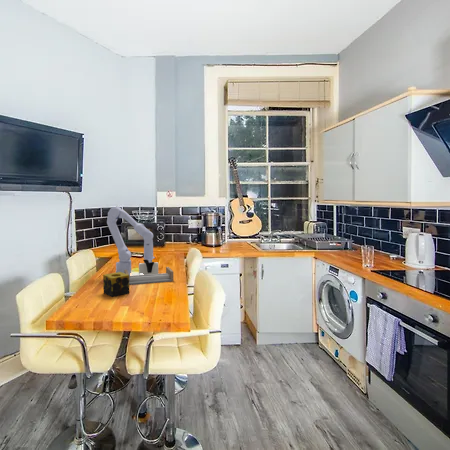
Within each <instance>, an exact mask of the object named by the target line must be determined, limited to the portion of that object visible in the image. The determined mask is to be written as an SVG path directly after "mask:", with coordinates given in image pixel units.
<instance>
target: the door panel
mask: <svg viewBox="0 0 450 450" xmlns="http://www.w3.org/2000/svg"><path fill="white" fill-rule="evenodd" d="M153 262H154V265H153V267H152V272H151V273H148V271H147V266H146V263H144V262H142V263H141V262H139V263H138V274H139V273H143V274H144V275H149V274H159V262H157V261H156V262H155V261H153Z"/></svg>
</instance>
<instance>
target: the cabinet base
mask: <svg viewBox="0 0 450 450" xmlns="http://www.w3.org/2000/svg"><path fill="white" fill-rule="evenodd" d="M124 273H125V274H127V275H129V273H128V271H127V270H124ZM168 282H170V283H171V282H174V270H172V269H171V267H170V266H166V268H165V272H162V273H158V274H149V275H139V274H137V275H135V274H134V275H133V276H129V286H135V285H147V284H156V283H157V284H158V283H168Z"/></svg>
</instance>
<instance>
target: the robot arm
mask: <svg viewBox="0 0 450 450" xmlns="http://www.w3.org/2000/svg"><path fill="white" fill-rule="evenodd" d="M118 219H124V220H125V221H126V222H128V223H129V224H130V225H131V226H132V227H133V230H134V231H135V232H136V233H138V234H139V235H140V236H141V237H142V238H143V242H144V243H143V263H146V266H147V271H148V273H151V272H152V267H153V265H154V262H155V261H153V260H154V259H156V257H155V256H154V240H153V239H154V233H153V232H152V231H150V229H148V228H146V226H145V224H144V223H141V222H140V223H139V222H137V221H136V219H134V218H133V217H132V216H131V215H130V214H129V213H128V212H127V211H125V210H124V209H123V208H121V207H120V206H112V207H111V208H110V209H109V210H108V212H107V218H106V224H107V225H106V226H108V229H109V231H110V234H111V237H112V238H113V241H114V244H115V246H116V248H117V253H118V260H119V261H117V262H115V273H116V272H122V273H124V270H127V271H128V273H129V276H130V273H132V260H131V258H132V252H131V251H130V250H129V249H128V247H127V245H126V244H125V241H124V239H123V236H122V235H121V232H120V229H119V226H118V225H117V221H118Z"/></svg>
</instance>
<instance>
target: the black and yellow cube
mask: <svg viewBox="0 0 450 450" xmlns="http://www.w3.org/2000/svg"><path fill="white" fill-rule="evenodd" d="M102 276H103V277H102V278H103V286H102V287H103V294H105V295H107V296H109V297H112V298H114V297H118V296H123V295H128V294H130V285H129V275H127V274H125V273H122V272H116V271H115V272H112V273H106V274H103V275H102Z"/></svg>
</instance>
